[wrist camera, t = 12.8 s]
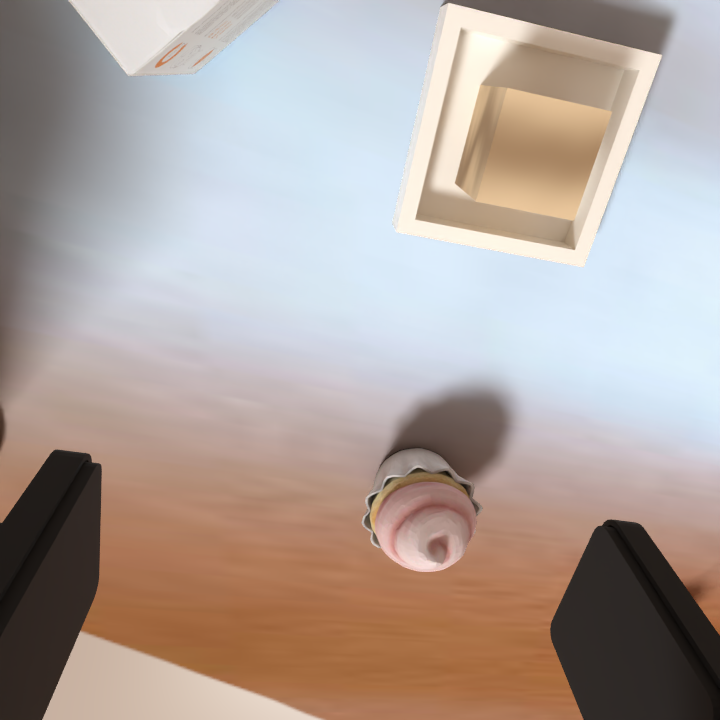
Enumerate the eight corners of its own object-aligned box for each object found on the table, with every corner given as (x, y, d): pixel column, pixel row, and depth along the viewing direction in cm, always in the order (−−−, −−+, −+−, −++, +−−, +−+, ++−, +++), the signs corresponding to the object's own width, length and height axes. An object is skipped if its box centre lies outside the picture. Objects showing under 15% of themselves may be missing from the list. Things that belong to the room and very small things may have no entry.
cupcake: (489, 484, 51) (524, 572, 42) (399, 537, 53) (414, 632, 44) (429, 409, 48) (455, 488, 39) (335, 469, 50) (338, 557, 41)
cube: (540, 200, 40) (574, 220, 35) (454, 183, 40) (475, 201, 34) (570, 105, 38) (612, 111, 33) (480, 85, 37) (507, 87, 32)
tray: (569, 256, 43) (583, 267, 41) (392, 222, 41) (396, 232, 39) (640, 56, 37) (662, 55, 35) (440, 7, 36) (448, 3, 33)
